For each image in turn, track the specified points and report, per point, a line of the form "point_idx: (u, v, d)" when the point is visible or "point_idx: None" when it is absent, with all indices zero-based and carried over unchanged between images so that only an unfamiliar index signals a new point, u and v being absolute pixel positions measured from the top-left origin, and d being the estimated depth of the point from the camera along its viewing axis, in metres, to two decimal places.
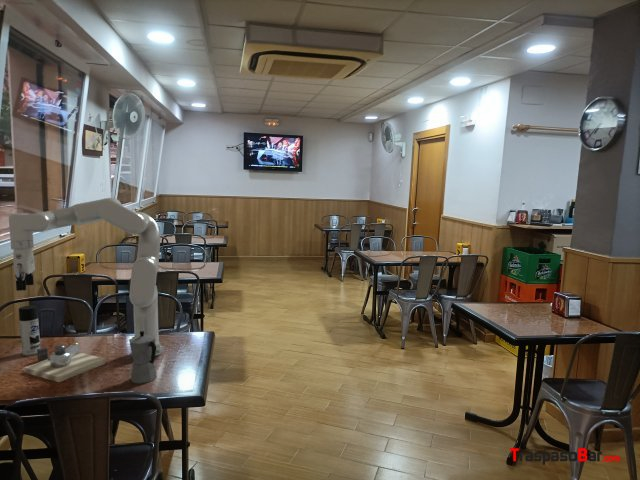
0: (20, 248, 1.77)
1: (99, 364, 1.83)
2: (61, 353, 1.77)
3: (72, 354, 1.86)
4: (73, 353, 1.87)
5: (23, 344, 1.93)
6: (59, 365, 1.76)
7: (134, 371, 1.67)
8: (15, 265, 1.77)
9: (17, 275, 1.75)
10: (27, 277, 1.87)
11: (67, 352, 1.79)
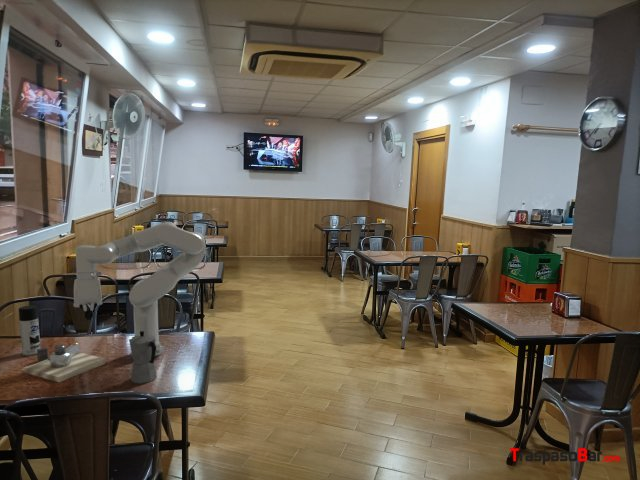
0: (97, 277, 1.90)
1: (99, 364, 1.83)
2: (61, 353, 1.77)
3: (72, 354, 1.86)
4: (73, 353, 1.87)
5: (23, 344, 1.93)
6: (59, 365, 1.76)
7: (134, 371, 1.67)
8: (101, 292, 1.90)
9: None
10: (88, 312, 1.90)
11: (67, 352, 1.79)
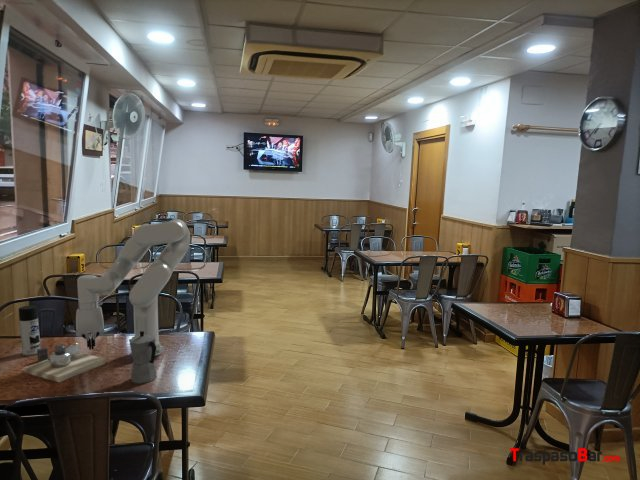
0: (99, 306, 1.92)
1: (99, 364, 1.83)
2: (61, 353, 1.77)
3: (72, 354, 1.86)
4: (73, 353, 1.87)
5: (23, 344, 1.93)
6: (59, 365, 1.76)
7: (134, 371, 1.67)
8: (103, 321, 1.92)
9: None
10: None
11: (67, 352, 1.79)
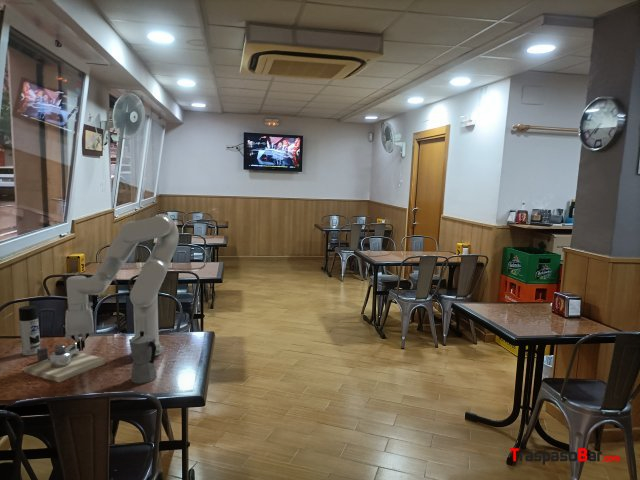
0: (88, 307, 1.90)
1: (99, 364, 1.83)
2: (61, 353, 1.77)
3: (72, 354, 1.86)
4: (72, 353, 1.87)
5: (23, 344, 1.93)
6: (60, 365, 1.76)
7: (134, 371, 1.67)
8: None
9: None
10: None
11: (67, 352, 1.79)
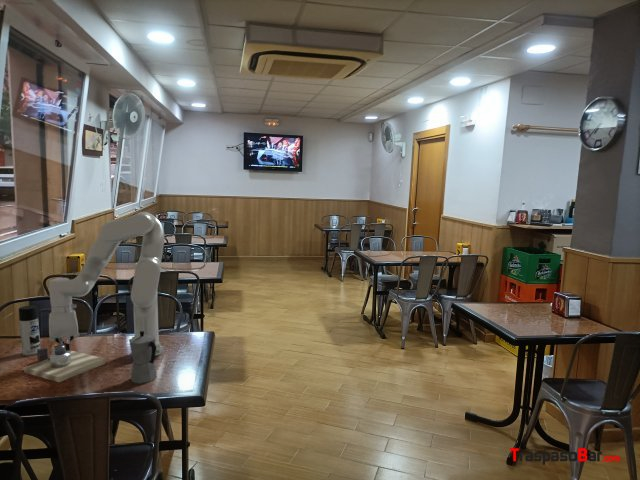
0: (72, 309, 1.88)
1: (99, 364, 1.83)
2: (64, 352, 1.78)
3: None
4: None
5: (23, 344, 1.93)
6: (65, 364, 1.77)
7: (134, 371, 1.67)
8: (77, 325, 1.87)
9: None
10: None
11: (66, 351, 1.80)
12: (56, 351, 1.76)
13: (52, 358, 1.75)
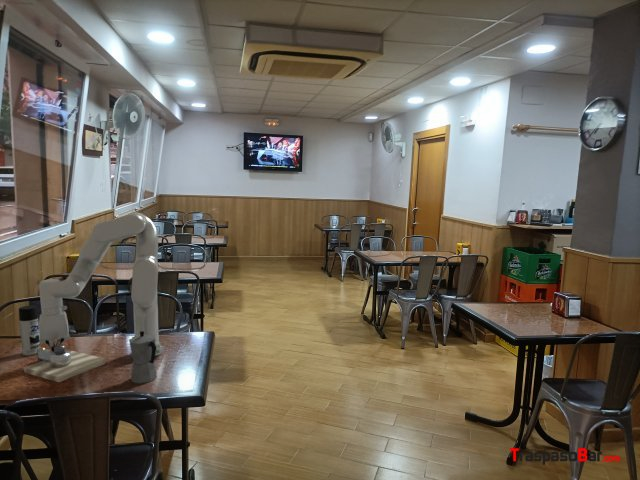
0: (63, 311, 1.86)
1: (99, 364, 1.83)
2: (65, 352, 1.79)
3: None
4: None
5: (23, 344, 1.93)
6: (68, 363, 1.78)
7: (134, 371, 1.67)
8: (68, 327, 1.86)
9: None
10: None
11: None
12: (58, 351, 1.76)
13: (55, 358, 1.75)
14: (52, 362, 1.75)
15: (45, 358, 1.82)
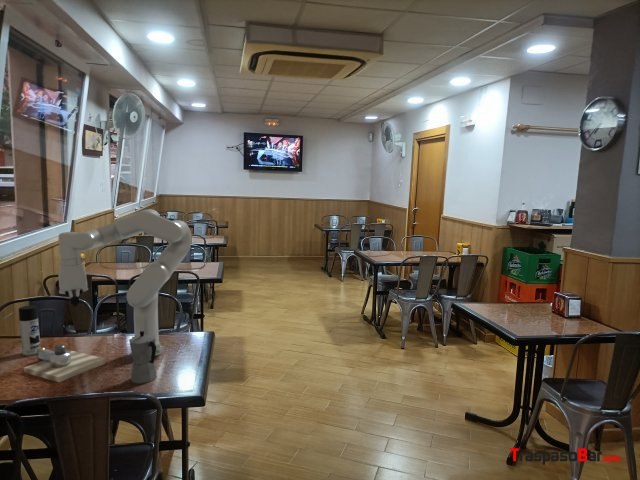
0: (81, 263, 1.92)
1: (99, 364, 1.83)
2: (65, 352, 1.79)
3: None
4: None
5: (23, 344, 1.93)
6: (68, 363, 1.78)
7: (134, 371, 1.67)
8: (86, 278, 1.92)
9: None
10: None
11: None
12: (58, 351, 1.76)
13: (55, 358, 1.75)
14: (52, 362, 1.75)
15: (45, 358, 1.82)
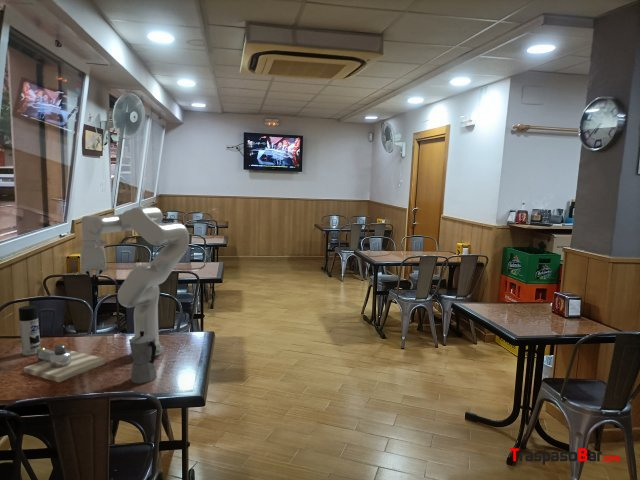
0: (101, 245, 2.04)
1: (99, 364, 1.83)
2: (65, 352, 1.79)
3: None
4: None
5: (23, 344, 1.93)
6: (68, 363, 1.78)
7: (134, 371, 1.67)
8: None
9: (102, 271, 2.05)
10: None
11: None
12: (58, 351, 1.76)
13: (55, 358, 1.75)
14: (52, 362, 1.75)
15: (45, 358, 1.82)
